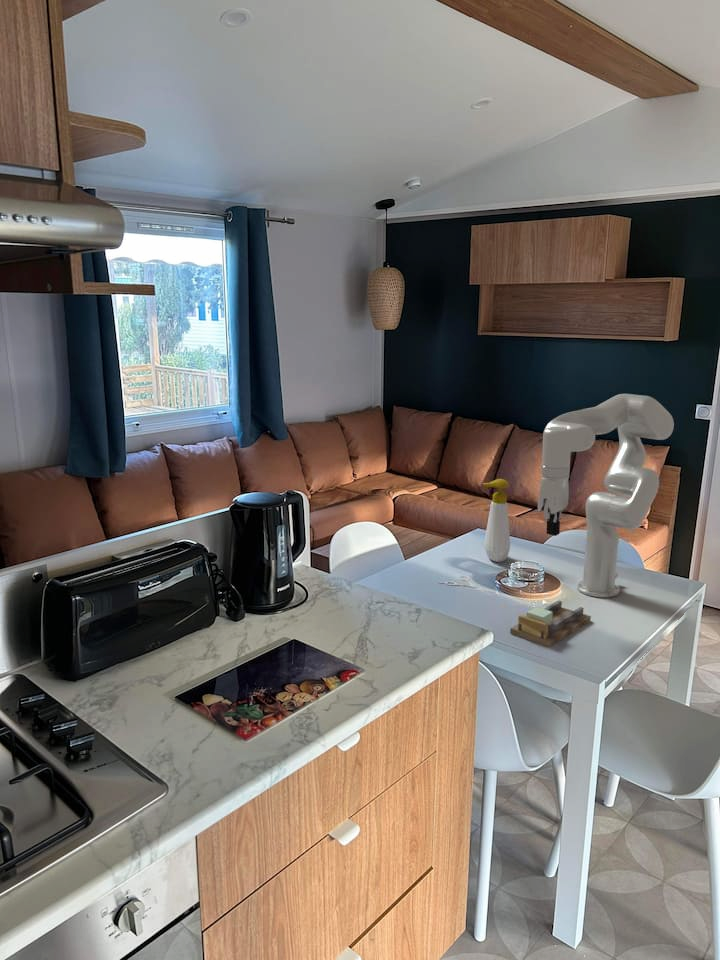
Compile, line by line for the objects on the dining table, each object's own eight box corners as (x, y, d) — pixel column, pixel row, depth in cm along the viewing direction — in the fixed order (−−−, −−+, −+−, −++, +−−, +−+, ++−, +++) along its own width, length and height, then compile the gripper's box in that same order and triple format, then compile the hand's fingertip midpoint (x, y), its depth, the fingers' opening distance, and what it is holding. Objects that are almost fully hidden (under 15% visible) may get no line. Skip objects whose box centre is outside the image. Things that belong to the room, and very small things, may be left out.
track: (552, 609, 218) (553, 591, 217) (590, 621, 210) (591, 602, 209) (510, 633, 202) (511, 614, 200) (549, 647, 194) (551, 627, 192)
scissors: (459, 574, 245) (509, 590, 232) (458, 576, 246) (509, 592, 232) (438, 582, 238) (489, 599, 224) (438, 584, 238) (489, 601, 224)
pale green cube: (535, 623, 204) (536, 606, 203) (551, 629, 201) (552, 611, 199) (525, 629, 200) (526, 612, 199) (542, 634, 197) (543, 617, 196)
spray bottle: (474, 553, 266) (477, 475, 260) (502, 552, 268) (506, 474, 261) (484, 566, 254) (488, 483, 247) (513, 565, 255) (518, 483, 248)
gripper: (555, 464, 213) (553, 525, 218) (530, 475, 203) (528, 538, 207) (580, 468, 209) (576, 529, 213) (555, 479, 198) (552, 544, 203)
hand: (552, 534), depth 210 cm, fingers closed
